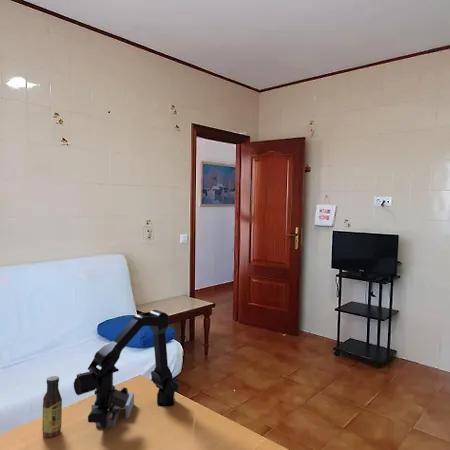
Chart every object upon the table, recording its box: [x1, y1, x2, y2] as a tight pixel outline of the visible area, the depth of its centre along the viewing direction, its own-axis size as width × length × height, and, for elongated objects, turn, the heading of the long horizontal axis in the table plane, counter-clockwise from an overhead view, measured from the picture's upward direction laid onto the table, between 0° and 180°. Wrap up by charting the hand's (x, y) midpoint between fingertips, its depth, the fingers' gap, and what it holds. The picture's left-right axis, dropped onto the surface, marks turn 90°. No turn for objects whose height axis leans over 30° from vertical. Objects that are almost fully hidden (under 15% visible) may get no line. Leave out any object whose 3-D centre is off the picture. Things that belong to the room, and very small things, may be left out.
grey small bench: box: [90, 392, 135, 419], centre depth 152 cm, size 14×10×6 cm
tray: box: [95, 408, 120, 428], centre depth 145 cm, size 6×8×3 cm
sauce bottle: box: [41, 375, 63, 438], centre depth 137 cm, size 7×6×20 cm
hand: (104, 427), depth 140 cm, fingers closed
